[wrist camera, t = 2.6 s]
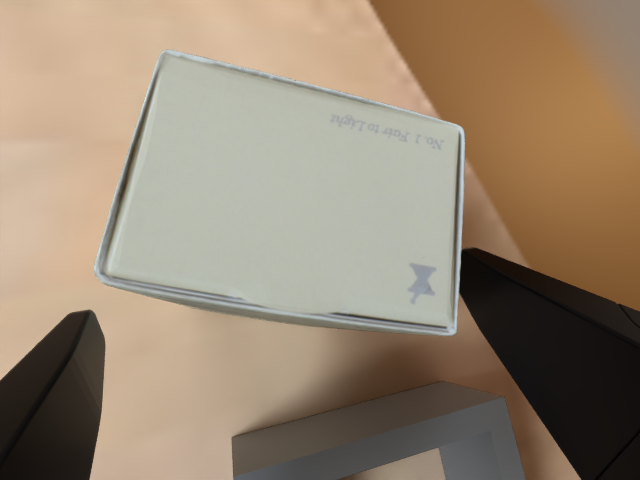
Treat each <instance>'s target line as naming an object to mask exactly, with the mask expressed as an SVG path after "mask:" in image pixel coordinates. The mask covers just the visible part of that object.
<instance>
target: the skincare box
mask: <svg viewBox="0 0 640 480" xmlns="http://www.w3.org/2000/svg"><path fill="white" fill-rule="evenodd" d="M464 165H465V133H464V130H463V128H462V127H461V126H458V125H456V124H454V123H450V122H447V121H443V120H440V119H437V118H434V117H431V116H427V115H424V114H420V113H417V112H414V111H411V110H407V109H404V108H399V107H395V106H392V105H388V104H385V103H382V102H378V101H373V100H369V99H366V98H363V97H359V96H355V95H351V94H348V93H344V92H340V91H337V90H333V89H327V88H323V87H319V86H315V85H312V84H309V83H306V82H303V81H296V80H293V79H289V78H285V77H281V76H277V75H273V74H269V73H266V72H262V71H258V70H254V69H249V68H244V67H240V66H236V65H232V64H229V63H225V62H221V61H216V60H212V59H209V58H205V57H200V56H196V55H192V54H188V53H182V52H179V51H175V50H164V51H162V52H161V53H160V55H159V57H158V60H157V63H156V66H155V69H154V72H153V75H152V79H151V82H150V85H149V88H148V91H147V94H146V96H145V99H144V102H143V106H142V109H141V112H140V115H139V119H138V122H137V125H136V127H135V130H134V134H133V137H132V140H131V143H130V146H129V149H128V153H127V157H126V160H125V163H124V166H123V169H122V172H121V175H120V178H119V182H118V185H117V188H116V191H115V194H114V198H113V201H112V205H111V208H110V212H109V216H108V219H107V223H106V226H105V230H104V233H103V236H102V240H101V243H100V246H99V250H98V253H97V257H96V261H95V264H94V273H95V276H96V277H97V278H98V279H99V280H100V281H101V283H103V284H106V285H108V286H111V287H115V288H118V289H122V290H126V291H130V292H134V293H138V294H141V295H145V296H149V297H153V298H156V299H160V300H164V301H168V302H172V303H176V304H179V305H183V306H186V307H190V308H194V309H200V310H206V311H211V312H217V313H223V314H229V315H235V316H241V317H247V318H254V319H260V320H267V321H273V322H280V323H287V324H295V325H303V326H311V327H325V328H337V329H351V330H364V331H377V332H389V333H404V334H419V335H435V336H453V335H455V334H456V333H457V309H458V299H459V282H460V266H461V251H462V223H463V205H464Z"/></svg>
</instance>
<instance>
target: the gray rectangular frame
mask: <svg viewBox="0 0 640 480" xmlns="http://www.w3.org/2000/svg"><path fill="white" fill-rule="evenodd" d="M438 447H439V450H440V455H441V459H442V464H443V468H444V473H445V477H446V480H526V478H525V474H524V470H523V466H522V463H521V459H520V455H519V451H518V447H517V443H516V439H515V435H514V431H513V428H512V424H511V420H510V416H509V412H508V408H507V404H506V400H505V397H502V396H498V395H495V394H491V393H487V392H483V391H479V390H475V389H471V388H467V387H463V386H460V385H456V384H452V383H448V382H444V381H441V382H437V383H434V384H430V385H426V386H422V387H419V388H415V389H411V390H407V391H404V392H400V393H396V394H392V395H389V396H385V397H381V398H377V399H374V400H370V401H366V402H362V403H359V404H355V405H351V406H347V407H344V408H340V409H336V410H332V411H329V412H325V413H321V414H317V415H314V416H310V417H306V418H302V419H299V420H295V421H291V422H287V423H284V424H280V425H276V426H272V427H269V428H265V429H261V430H257V431H254V432H250V433H246V434H242V435H239V436H235V437H232V459H233V478H234V480H338V479H341V478H344V477H347V476H350V475H353V474H356V473H359V472H363V471H366V470H369V469H372V468H375V467H378V466H381V465H384V464H388V463H391V462H394V461H397V460H400V459H403V458H406V457H409V456H413V455H416V454H419V453H422V452H425V451H428V450H431V449H434V448H438Z"/></svg>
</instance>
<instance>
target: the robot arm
mask: <svg viewBox="0 0 640 480" xmlns="http://www.w3.org/2000/svg"><path fill="white" fill-rule="evenodd" d="M459 293H460V295H461V297H462V298H463V300H464V302H465V304H466V306H467V308H468V310H469V311H470V313H471V315H472V317H473V319H474V321H475V322H476V324H477V326H478V327H479V329H480V331H481V332H482V334H483V335H484V337H485V338H486V340H487V341H488V343H489V344H490V346H491V347H492V348H493V350H494V351H495V353H496V354H497V356H498V357H499V359H500V360H501V362H502V363H503V365H504V366H505V368H506V369H507V371H508V372H509V374H510V375H511V377H512V378H513V379H514V381H515V382H516V384H517V385H518V387H519V388H520V390H521V391H522V393H523V394H524V396H525V397H526V399H527V400H528V402H529V403H530V405H531V406H532V408H533V409H534V410H535V412H536V413H537V415H538V416H539V418H540V419H541V421H542V422H543V424H544V425H545V427H546V428H547V430H548V431H549V433H550V434H551V436H552V437H553V438H554V440H555V441H556V443H557V444H558V446H559V447H560V449H561V450H562V452H563V453H564V455H565V456H566V458H567V459H568V461H569V462H570V464H571V465H572V467H573V468H574V469H575V471H576V472H577V474H578V475H579V477H580V478H581V480H640V312H639V311H637V310H634V309H631V308H629V307H626V306H624V305H621V304H616V303H615V302H613V301H611V300H608V299H606V298H603V297H600V296H597V295H595V294H593V293H590V292H588V291H585V290H583V289H580V288H577V287H575V286H572V285H570V284H567V283H565V282H562V281H560V280H557V279H555V278H552V277H549V276H546V275H544V274H542V273H539V272H537V271H534V270H532V269H529V268H527V267H524V266H521V265H519V264H516V263H514V262H511V261H509V260H506V259H504V258H501V257H498V256H496V255H493V254H491V253H488V252H486V251H483V250H481V249H478V248H475V247H471V248H465V249H462V251H461V266H460V282H459ZM104 362H105V338H104V335H103V332H102V330H101V327H100V325H99V322H98V320H97V318H96V315H95V313H94V312H93V311H92V310H84V311H77V312H72V313H70V314H68V315H67V316H66V317H65V318H64V319H63V320H62V321H61V322H60V323H59V324H58V325H57V326H55V327H54V328H53V329H52V330H51V331H50V332H49V333H48V334H47V335H46V336H45V337H44V338H43V339H42V340H41V341H40V342H39V343H38V344H37V345H36V346H35V347H34V348H33V349H32V350H31V351H30V352H29V353H28V354H27V355H26V356H25V357H24V358H23V359H22V360H21V361H20V362H19V363H18V364H17V365H15V366H14V367H13V368H12V369H11V370H10V371H9V372H8V373H7V374H6V375H5V376H4V377H3V378H2V379H1V380H0V480H89V479H90V474H91V468H92V463H93V458H94V452H95V447H96V442H97V436H98V431H99V425H100V419H101V412H102V398H103V380H104Z"/></svg>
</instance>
